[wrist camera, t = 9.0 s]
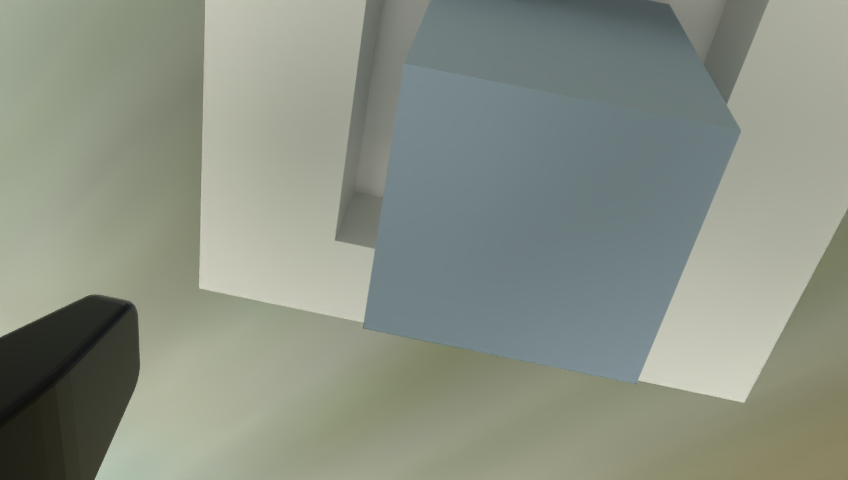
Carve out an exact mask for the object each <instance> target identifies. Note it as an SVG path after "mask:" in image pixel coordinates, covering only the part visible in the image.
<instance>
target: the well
mask: <svg viewBox="0 0 848 480" xmlns="http://www.w3.org/2000/svg"><path fill="white" fill-rule="evenodd" d="M650 1H655V2H660V3H665V4H669V5H670V6H671V8H672V10H673V12H674V13H675V15H676V17H677V19H678V20H679V22H680V24H681V26H682V28H683V29H684V31H685V33H686V35H687V36H688V38H689V40H690V42H691V43H692V45H693V47H694V49H695V50H696V52H697V54H698V56H699V57H700V59H701V61H702V63H703V64H704V66H705V68H706V70H707V71H708V73H709V75H710V77H711V78H712V80H713V82H714V84H715V85H716V87H717V89H718V91H719V93H720V94H721V96H722V98H723V100H724V101H725V103H726V105H727V107H728V108H729V110H730V112H731V114H732V115H733V117H734V119H735V121H736V122H737V124H738V126H739V128H740V129H741V133H740V135H739V138H738V140H737V143H736V145H735V147H734V150H733V152H732V155H731V157H730V160H729V162H728V164H727V167H726V169H725V172H724V174H723V176H722V179H721V181H720V184H719V186H718V188H717V191H716V193H715V196H714V198H713V201H712V203H711V205H710V208H709V210H708V213H707V215H706V217H705V220H704V222H703V225H702V227H701V229H700V232H699V234H698V237H697V239H696V241H695V244H694V246H693V249H692V251H691V254H690V256H689V258H688V261H687V263H686V266H685V268H684V270H683V273H682V275H681V278H680V280H679V282H678V285H677V287H676V290H675V292H674V294H673V297H672V299H671V302H670V304H669V307H668V309H667V311H666V314H665V316H664V319H663V321H662V323H661V326H660V328H659V331H658V333H657V335H656V338H655V340H654V343H653V345H652V348H651V350H650V352H649V355H648V357H647V360H646V362H645V364H644V367H643V369H642V372H641V374H640V376H639V379H638V381H643V382H648V383H653V384H657V385H662V386H667V387H672V388H676V389H681V390H686V391H691V392H695V393H700V394H705V395H710V396H715V397H719V398H724V399H729V400H734V401H738V402H743V403H744V402H745V400H746V398H747V396H748V395H749V393H750V391H751V389H752V387H753V385H754V383H755V381H756V380H757V378H758V376H759V374H760V372H761V370H762V368H763V366H764V365H765V363H766V361H767V359H768V357H769V355H770V353H771V351H772V350H773V348H774V346H775V344H776V342H777V340H778V338H779V336H780V335H781V333H782V331H783V329H784V327H785V325H786V323H787V321H788V320H789V318H790V316H791V314H792V312H793V310H794V308H795V306H796V305H797V303H798V301H799V299H800V297H801V295H802V293H803V291H804V290H805V288H806V286H807V284H808V282H809V280H810V278H811V276H812V275H813V273H814V271H815V269H816V267H817V265H818V263H819V261H820V260H821V258H822V256H823V254H824V252H825V250H826V248H827V246H828V245H829V243H830V241H831V239H832V237H833V235H834V233H835V231H836V230H837V228H838V226H839V224H840V222H841V220H842V218H843V217H844V215H845V213H846V211H847V209H848V0H650ZM429 3H430V0H205V39H204V85H203V131H202V176H201V222H200V268H199V288H200V289H205V290H210V291H214V292H219V293H224V294H229V295H233V296H238V297H243V298H248V299H252V300H257V301H262V302H267V303H272V304H276V305H281V306H286V307H291V308H295V309H300V310H305V311H310V312H314V313H319V314H324V315H329V316H333V317H338V318H343V319H348V320H353V321H357V322H362V323H364V317H365V310H366V304H367V298H368V291H369V285H370V278H371V272H372V266H373V259H374V253H375V246H376V240H377V234H378V227H379V221H380V214H381V208H382V201H383V195H384V189H385V182H386V176H387V169H388V163H389V157H390V150H391V144H392V137H393V131H394V125H395V118H396V112H397V105H398V99H399V93H400V86H401V80H402V73H403V67H404V62H405V60H406V58H407V55H408V53H409V50H410V48H411V46H412V43H413V41H414V39H415V36H416V34H417V31H418V29H419V27H420V24H421V22H422V19H423V17H424V15H425V12H426V10H427V7H428V5H429Z"/></svg>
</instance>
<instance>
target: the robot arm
mask: <svg viewBox="0 0 848 480" xmlns="http://www.w3.org/2000/svg"><path fill="white" fill-rule="evenodd" d="M139 370H140V355H139V330H138V313H137V310H136V307H135V305H134V304H133V303H131V302H130V301H127V300H122V299H117V298H113V297H108V296H103V295H89V296H87V297H84V298H82V299H80V300H78V301H76V302H73V303H71V304H69V305H67V306H65V307H63V308H61V309H59V310H57V311H55V312H52V313H50V314H48V315H46V316H44V317H42V318H40V319H38V320H36V321H34V322H31V323H29V324H27V325H25V326H23V327H21V328H19V329H17V330H15V331H12V332H10V333H8V334H6V335H4V336H2V337H0V480H95V477H96V475H97V473H98V471H99V468H100V466H101V464H102V462H103V459H104V457H105V455H106V453H107V450H108V448H109V446H110V444H111V441H112V439H113V437H114V435H115V432H116V430H117V428H118V426H119V423H120V421H121V419H122V417H123V414H124V412H125V410H126V408H127V405H128V403H129V401H130V399H131V396H132V394H133V392H134V389H135V387H136V384H137V381H138V376H139Z"/></svg>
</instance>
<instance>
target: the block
mask: <svg viewBox="0 0 848 480" xmlns="http://www.w3.org/2000/svg"><path fill="white" fill-rule="evenodd" d="M740 133H741V129H740V128H739V126H738V124H737V122H736V121H735V119H734V117H733V115H732V114H731V112H730V110H729V108H728V107H727V105H726V103H725V101H724V100H723V98H722V96H721V94H720V93H719V91H718V89H717V87H716V85H715V84H714V82H713V80H712V78H711V77H710V75H709V73H708V71H707V70H706V68H705V66H704V64H703V63H702V61H701V59H700V57H699V56H698V54H697V52H696V50H695V49H694V47H693V45H692V43H691V42H690V40H689V38H688V36H687V35H686V33H685V31H684V29H683V28H682V26H681V24H680V22H679V20H678V19H677V17H676V15H675V13H674V12H673V10H672V8H671V6H670V5H669V4H665V3H660V2H655V1H650V0H430V3H429V5H428V7H427V10H426V12H425V15H424V17H423V19H422V22H421V24H420V27H419V29H418V31H417V34H416V36H415V39H414V41H413V43H412V46H411V48H410V50H409V53H408V55H407V58H406V60H405V62H404V67H403V73H402V80H401V86H400V93H399V99H398V105H397V112H396V118H395V125H394V131H393V137H392V144H391V150H390V157H389V163H388V169H387V176H386V182H385V189H384V195H383V201H382V208H381V214H380V221H379V227H378V234H377V240H376V246H375V253H374V259H373V266H372V272H371V278H370V285H369V291H368V298H367V304H366V310H365V317H364V323H363V328H364V329H369V330H373V331H378V332H383V333H388V334H393V335H398V336H403V337H408V338H413V339H418V340H422V341H427V342H432V343H437V344H442V345H447V346H452V347H457V348H462V349H467V350H471V351H476V352H481V353H486V354H491V355H496V356H501V357H506V358H511V359H516V360H521V361H525V362H530V363H535V364H540V365H545V366H550V367H555V368H560V369H565V370H570V371H574V372H579V373H584V374H589V375H594V376H599V377H604V378H609V379H614V380H619V381H623V382H628V383H633V384H637V381H638V379H639V376H640V374H641V372H642V369H643V367H644V364H645V362H646V360H647V357H648V355H649V352H650V350H651V348H652V345H653V343H654V340H655V338H656V335H657V333H658V331H659V328H660V326H661V323H662V321H663V319H664V316H665V314H666V311H667V309H668V307H669V304H670V302H671V299H672V297H673V294H674V292H675V290H676V287H677V285H678V282H679V280H680V278H681V275H682V273H683V270H684V268H685V266H686V263H687V261H688V258H689V256H690V254H691V251H692V249H693V246H694V244H695V241H696V239H697V237H698V234H699V232H700V229H701V227H702V225H703V222H704V220H705V217H706V215H707V213H708V210H709V208H710V205H711V203H712V201H713V198H714V196H715V193H716V191H717V188H718V186H719V184H720V181H721V179H722V176H723V174H724V172H725V169H726V167H727V164H728V162H729V160H730V157H731V155H732V152H733V150H734V147H735V145H736V143H737V140H738V138H739V135H740Z"/></svg>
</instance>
